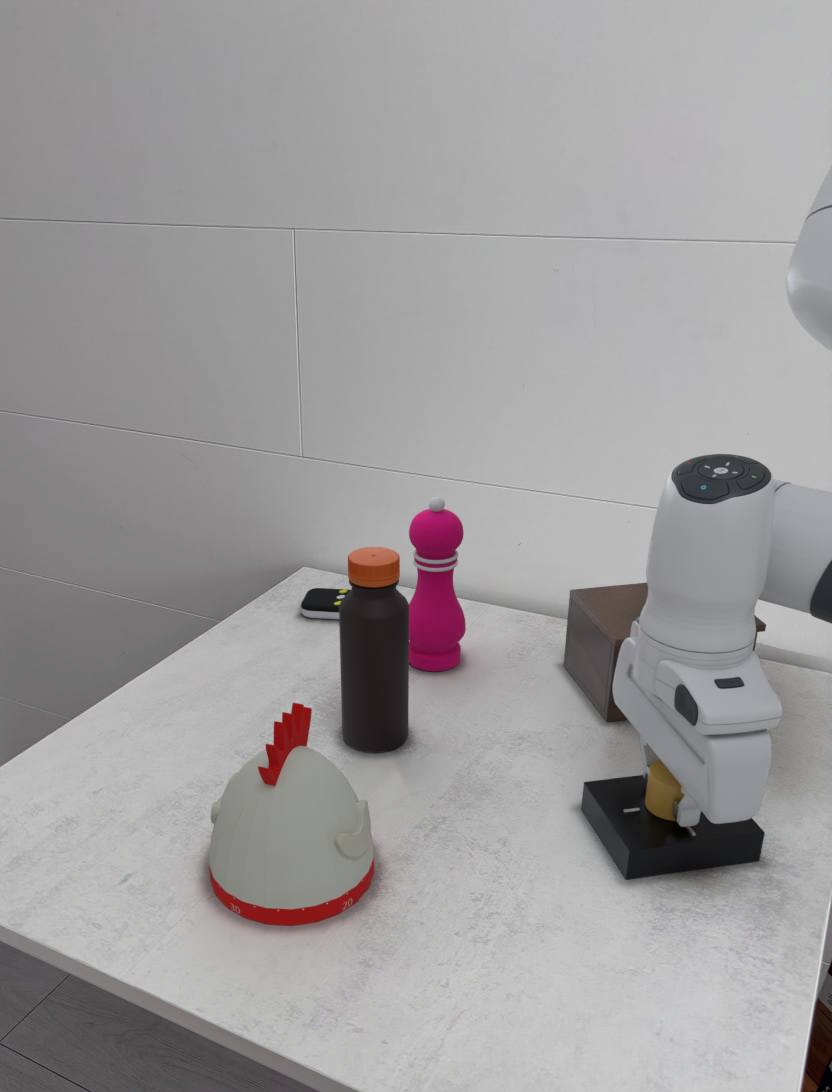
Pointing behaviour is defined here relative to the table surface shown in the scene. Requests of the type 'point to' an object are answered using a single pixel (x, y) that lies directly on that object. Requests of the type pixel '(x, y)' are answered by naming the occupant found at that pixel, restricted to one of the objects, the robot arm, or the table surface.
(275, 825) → the kitchen timer
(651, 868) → the rotary knob base
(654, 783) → the lock dial
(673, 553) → the robot arm
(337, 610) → the remote control
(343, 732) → the bottle
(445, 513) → the pepper mill
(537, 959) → the table surface
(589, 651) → the chest
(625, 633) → the chest lid
